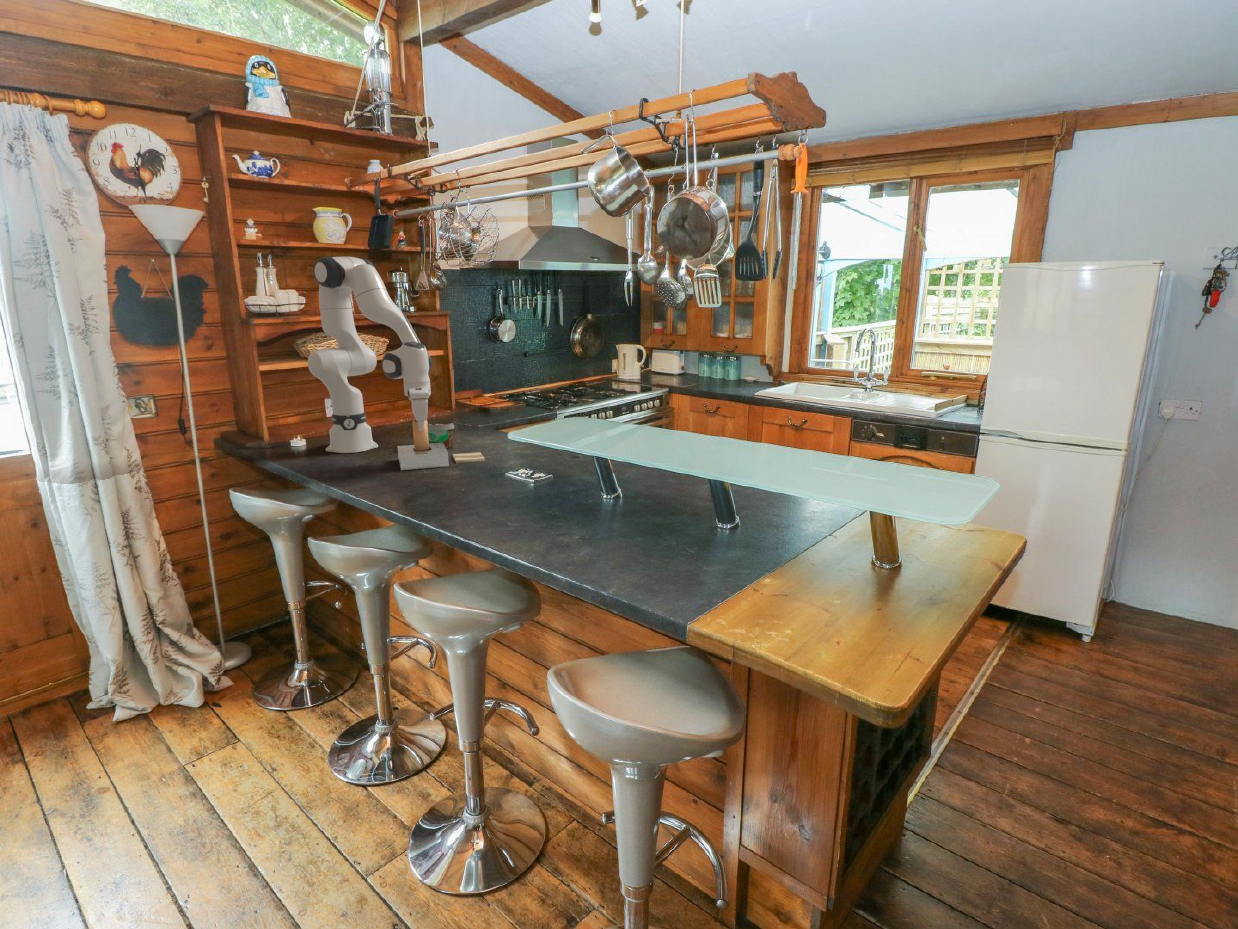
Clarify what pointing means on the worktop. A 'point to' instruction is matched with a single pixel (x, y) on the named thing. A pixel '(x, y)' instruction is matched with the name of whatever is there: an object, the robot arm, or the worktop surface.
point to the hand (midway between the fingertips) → (420, 428)
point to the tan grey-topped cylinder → (420, 436)
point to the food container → (441, 434)
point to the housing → (423, 457)
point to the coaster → (468, 457)
